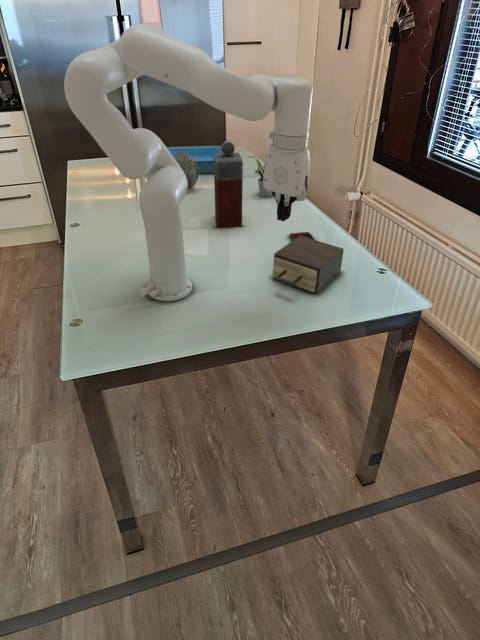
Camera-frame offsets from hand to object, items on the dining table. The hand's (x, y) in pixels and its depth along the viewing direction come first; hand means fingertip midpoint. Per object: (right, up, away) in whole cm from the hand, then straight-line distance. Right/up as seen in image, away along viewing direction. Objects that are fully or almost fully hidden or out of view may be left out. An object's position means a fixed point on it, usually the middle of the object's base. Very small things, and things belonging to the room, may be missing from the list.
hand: (283, 218), depth 113 cm
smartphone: (+11, 0, +40) cm, 41 cm away
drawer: (+6, -13, +20) cm, 25 cm away
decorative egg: (-34, +30, +81) cm, 92 cm away
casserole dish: (-32, +46, +103) cm, 117 cm away
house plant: (+1, +26, +75) cm, 80 cm away
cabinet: (+9, -12, +23) cm, 28 cm away
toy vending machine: (-15, +11, +55) cm, 58 cm away
